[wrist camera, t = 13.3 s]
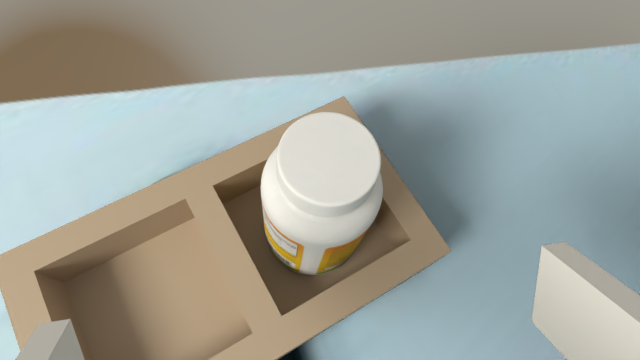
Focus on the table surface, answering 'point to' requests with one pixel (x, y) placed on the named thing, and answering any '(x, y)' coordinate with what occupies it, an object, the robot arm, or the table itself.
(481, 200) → the table surface
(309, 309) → the divided compartment tray
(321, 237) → the supplement bottle
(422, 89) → the table surface
